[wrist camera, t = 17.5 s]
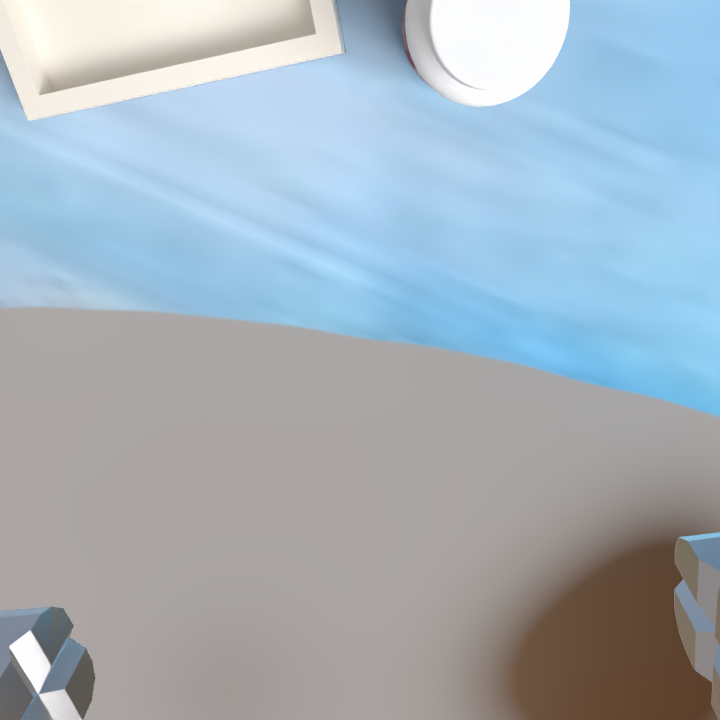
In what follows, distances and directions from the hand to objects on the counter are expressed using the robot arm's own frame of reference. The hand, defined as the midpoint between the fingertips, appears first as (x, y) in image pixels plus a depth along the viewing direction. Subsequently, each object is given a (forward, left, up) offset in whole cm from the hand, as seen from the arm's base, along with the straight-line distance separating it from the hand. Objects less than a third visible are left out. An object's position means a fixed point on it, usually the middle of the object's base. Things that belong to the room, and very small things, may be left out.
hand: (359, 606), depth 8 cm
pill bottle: (-5, -7, -29) cm, 31 cm away
